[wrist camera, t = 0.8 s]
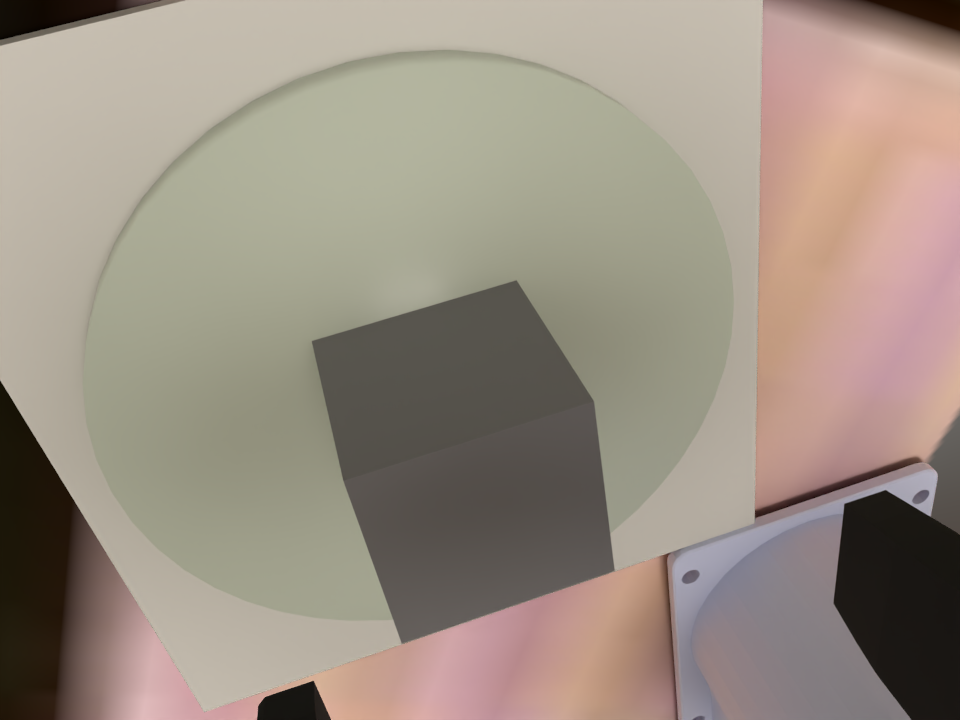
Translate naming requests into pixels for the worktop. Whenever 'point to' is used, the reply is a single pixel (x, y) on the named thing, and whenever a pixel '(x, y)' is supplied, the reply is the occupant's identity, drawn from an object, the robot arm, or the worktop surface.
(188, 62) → the mat
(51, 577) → the worktop surface
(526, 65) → the lid
